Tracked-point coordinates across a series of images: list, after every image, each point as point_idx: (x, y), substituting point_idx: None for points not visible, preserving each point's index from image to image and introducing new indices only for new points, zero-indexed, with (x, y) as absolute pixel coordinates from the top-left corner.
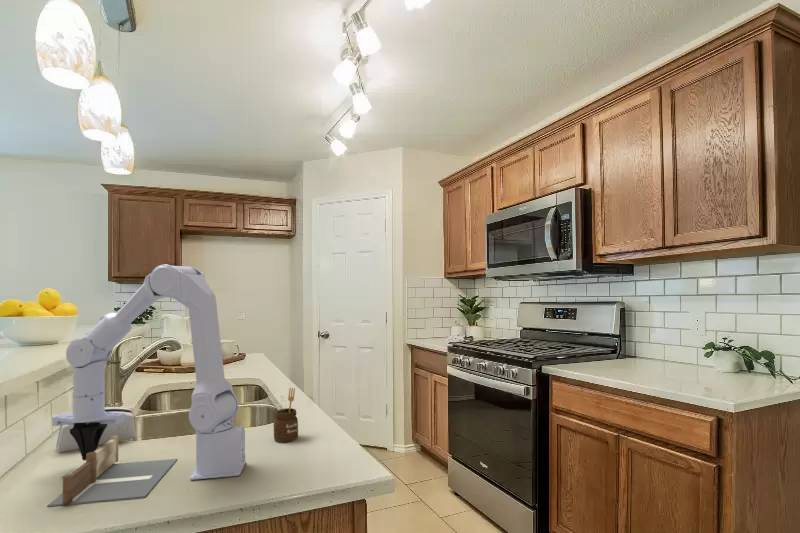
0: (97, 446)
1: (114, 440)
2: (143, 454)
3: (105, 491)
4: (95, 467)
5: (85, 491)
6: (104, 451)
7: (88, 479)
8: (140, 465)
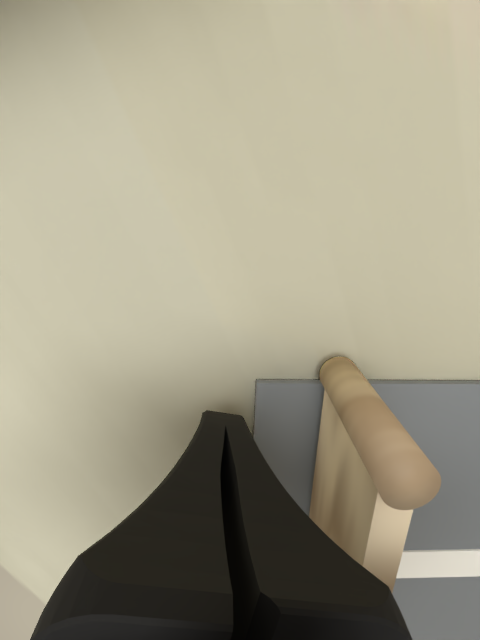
0: (261, 453)
1: (409, 511)
2: (463, 227)
3: None
4: None
5: None
6: None
7: None
8: (475, 435)
